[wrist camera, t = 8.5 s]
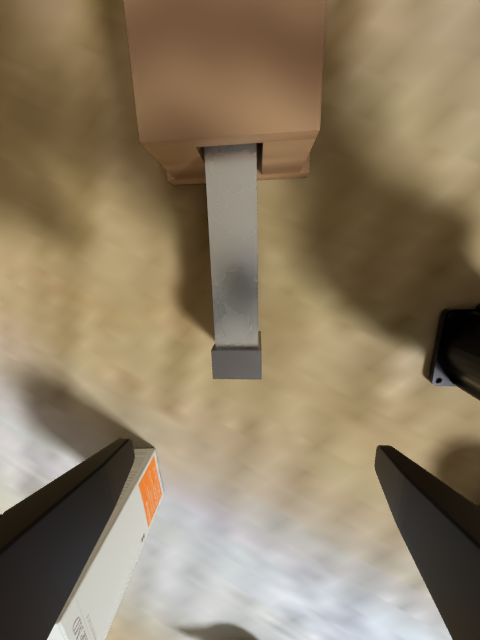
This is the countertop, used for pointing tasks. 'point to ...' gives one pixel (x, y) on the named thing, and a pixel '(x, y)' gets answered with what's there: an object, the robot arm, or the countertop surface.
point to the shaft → (234, 259)
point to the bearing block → (227, 81)
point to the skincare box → (113, 555)
